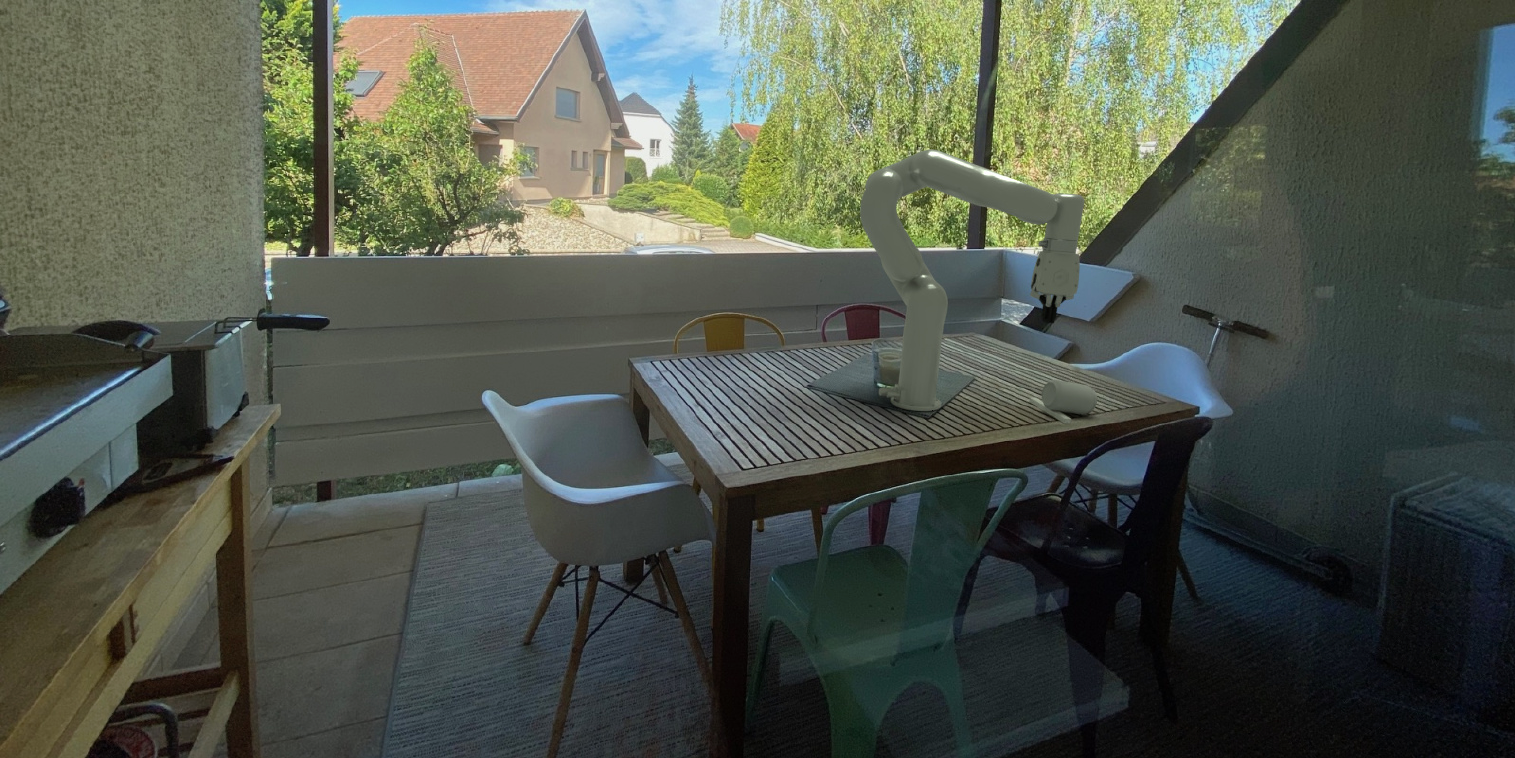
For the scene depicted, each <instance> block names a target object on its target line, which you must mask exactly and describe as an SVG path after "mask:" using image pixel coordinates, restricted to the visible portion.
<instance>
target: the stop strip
mask: <svg viewBox="0 0 1515 758" xmlns="http://www.w3.org/2000/svg"><path fill="white" fill-rule="evenodd" d="M1029 403H1031V404H1032V405H1034V406H1035V407H1036V408H1039V409H1040V410H1041V411H1043V412H1045V413H1046V414H1048V415H1050V416H1052V417H1053V418H1055V419H1056V420H1058V421H1059V422H1061V423H1063V424H1065V425H1067V424H1069V425H1071V424H1072V418H1070V417H1069V416H1067V415H1066V414H1064V413H1062V411H1057V410H1051V409H1048V408H1046V407H1045V406H1044V403H1043V402H1042V399H1041V400H1040V399H1039V398H1037V397H1029Z"/></svg>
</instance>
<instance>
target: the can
mask: <svg viewBox="0 0 1515 758" xmlns="http://www.w3.org/2000/svg"><path fill="white" fill-rule="evenodd" d="M1041 401H1042V402H1043V403H1044V406H1045V407H1046V408H1048V409H1051V410H1057V411H1059V412H1064V413H1070V414H1075V415H1076V414H1077V415H1080V414H1081V415H1083V416H1084V415H1086V414H1090V413H1092V412H1093V411H1094V410H1095V408H1096V406H1097V404H1098V395H1097V392H1096V391H1095V390H1094V389H1092V387H1091V386H1090V385H1088V384H1087V385H1086V384H1082V383H1081V384H1080V383H1075V382H1071V381H1070V382H1069V381H1066V380H1065V381H1063V380H1060V379H1051V380H1049V381H1047V383H1046V384H1045V385H1044V386H1043V387H1042V390H1041Z"/></svg>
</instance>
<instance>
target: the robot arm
mask: <svg viewBox="0 0 1515 758" xmlns="http://www.w3.org/2000/svg"><path fill="white" fill-rule="evenodd" d="M926 187H927V188H930V189H932V190H934V191H937V192H940V193H943V194H946V195H948V196H951V197H954V198H956V199H959V200H961V201H964V202H967V203H968V204H972V205H975V206H978V207H983V208H984V207H985V208H988V209H993V210H996V211H1000V212H1002V213H1005V214H1008V215H1011V216H1014V217H1016V218H1017V219H1018V220H1019V221H1021V222H1024V223H1028V224H1033V225H1045V224H1046V226H1045V231H1044V237H1043V240H1039V241H1038V244H1037V245H1038V247H1041V249H1042V250H1040V251H1039V253H1038V255H1037V257H1036V261H1035V264H1034V268H1033V271H1032V277H1031V283H1030V289H1031V290H1030V293H1029V296H1030V297H1031V298H1034V299H1037V300H1038V301H1039V302H1040V304H1041V305H1042V309H1041V315H1040V317H1041V322H1043V323H1045V324H1054V323H1055V320H1056V319H1057V313H1058V312H1057V311H1058V308H1060V307H1061V305H1062V304H1063V303H1064V302H1065V301H1069V300H1072V299H1074V297H1075V295H1076V294H1077V292H1078V288H1079V280H1080V267H1081V266H1080V264H1081V263H1080V254H1079V253H1077V249H1078V248H1077V247H1078V243H1079V237H1080V230H1081V225H1082V219H1083V214H1084V213H1083V211H1084V205H1085V199H1084V197H1083V196H1082V194H1075V193H1064V192H1063V193H1058V192H1057V193H1050V192H1048V191H1046V190H1043V189H1041V188H1038V187H1035V186H1033V185H1030V184H1028V183H1025V182H1022V181H1019V180H1016V179H1014V178H1011V177H1009V176H1006V175H1003V174H1000V173H998V172H997V171H994V170H991V169H988V168H986V167H984V166H980V165H977V164H976V163H972V162H969V161H967V160H965V159H962V158H959V157H956V156H955V155H951V154H949V153H946V152H944V151H940V150H938V149H925V150H922V151H918V152H917V153H915V154H913V155H911V156H908V157H907V158H904V159H902V160H900V161H897V162H895V163H892V164H889V165H887V166H885V167H884V166H883V167H882V168H880V169H877V170H875V171H874V172H872V173H871V174H870V175H869V176H868V178H867V179H866V182H865V186H864V189H865V190H864V192H863V194H862V196H861V200H860V207H859V211H860V212H859V216H860V221H861V222H860V223H861V225H862V227H863V230H864V233H865V234H866V236H867V238H868V239H869V241H870V243H871V245H872V247H873V249H874V250H875V252H876V254H877V255H878V257H879V258H880V262H881V266H882V269H883V271H884V272H885V273H886V275H887V277H888V278H889V280H890V282H891V284H892V285H893V286H894V289H896V292H897V294H898V295H899V296H900V298H901V300H902V302H903V303H904V304H905V306H906V313H905V320H904V325H903V326H904V327H903V333H902V334H903V336H902V345H901V354H900V355H901V356H900V357H901V358H900V365H899V366H900V367H899V375H898V383H894V387H893V386H892V387H890V388H887V387H880V388H879V389H878V395H879V396H880V397H881V396H883V397H885V396H886V398H890V403H891V404H892V405H893V406H895V407H898V408H900V409H904V410H908V411H913V412H914V411H916V412H933V411H937V410H939V409H940V408H941V407H942V402H941V400H939V399H938V398H936V396H937V388H938V378H939V369H940V368H939V367H940V360H941V353H942V352H941V351H942V343H943V335H944V328H945V327H944V326H945V322H946V317H947V312H948V304H949V303H948V300H949V299H948V295H947V293H946V292H947V291H945V289H944V287H943V286H942V285H941V284H940V283H939V282H937V281H936V280H935V278H934V276H933V275H932V273H931V271H930V270H929V268H928V266H927V264H926V263H925V262H924V260H923V259H924V258H923V255H922V253H921V251H920V249H919V248H918V247H917V246H916V245H915V243H914V242H913V241H912V240H913V239H911V237H910V236H909V233H908V232H907V230H906V228H905V227H904V224H903V223H902V221H901V220H900V217H899V215H898V212H897V205H898V202H899V200H900V199H901V198H903V197H906V196H909V195H911V194H913V193H916V192H918V191H920V190H922V189H924V188H926ZM932 410H933V411H932Z"/></svg>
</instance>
